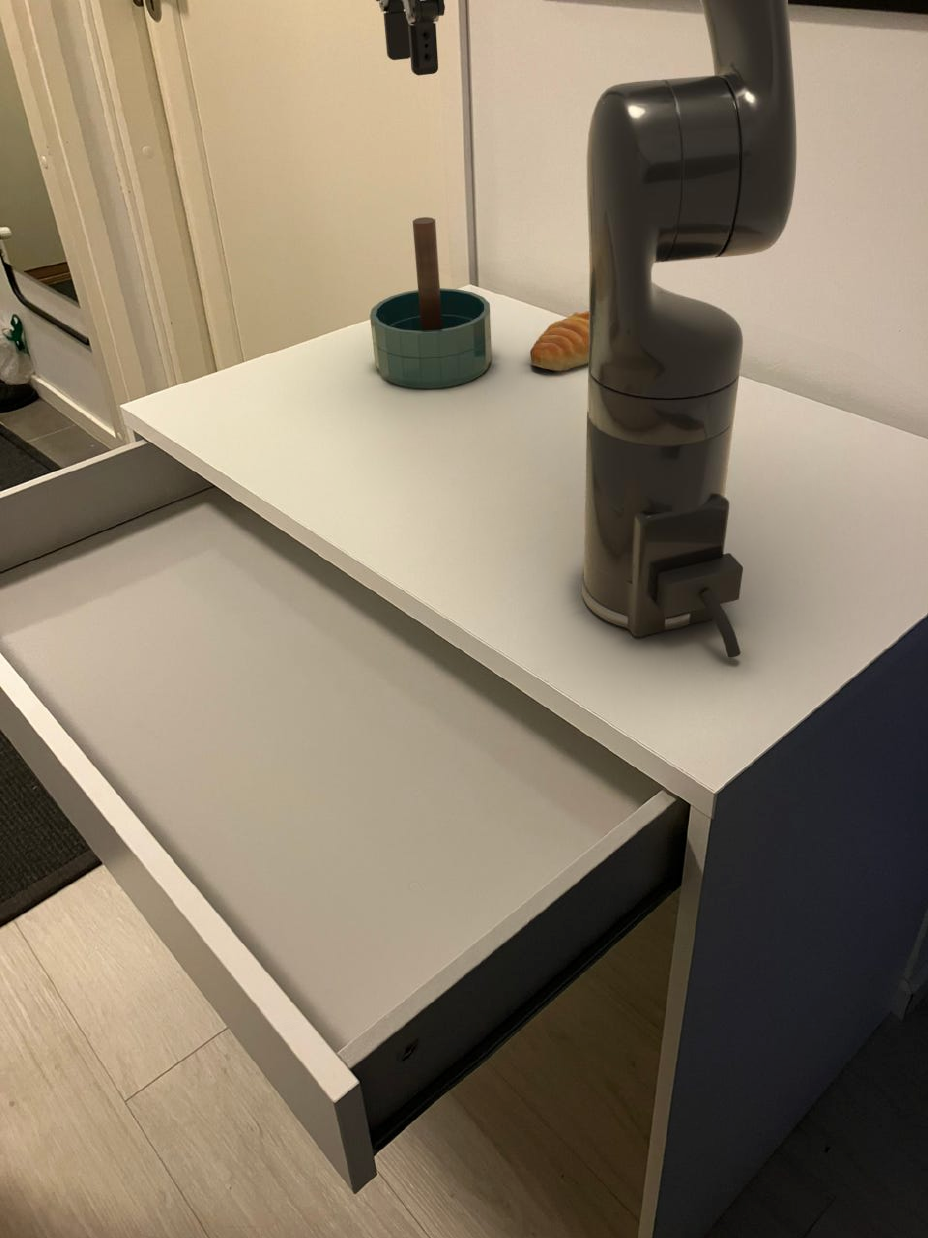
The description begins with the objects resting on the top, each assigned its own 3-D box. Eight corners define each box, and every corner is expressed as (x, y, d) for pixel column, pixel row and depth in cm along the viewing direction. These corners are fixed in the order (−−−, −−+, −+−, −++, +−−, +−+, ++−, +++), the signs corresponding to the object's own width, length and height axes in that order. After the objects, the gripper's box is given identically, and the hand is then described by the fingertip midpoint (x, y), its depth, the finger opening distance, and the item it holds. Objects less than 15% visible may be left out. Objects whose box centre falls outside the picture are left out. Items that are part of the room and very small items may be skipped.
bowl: (508, 377, 104) (506, 320, 100) (392, 398, 101) (386, 340, 98) (471, 334, 113) (468, 281, 109) (365, 353, 110) (358, 299, 107)
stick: (460, 361, 105) (452, 223, 97) (419, 369, 104) (407, 229, 96) (447, 346, 109) (439, 211, 100) (408, 353, 108) (396, 217, 99)
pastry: (565, 381, 102) (565, 345, 100) (513, 366, 106) (512, 331, 104) (618, 350, 108) (619, 315, 105) (566, 337, 111) (566, 302, 109)
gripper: (330, -160, 85) (353, 59, 95) (369, -164, 74) (390, 84, 84) (416, -166, 86) (430, 50, 96) (467, -170, 75) (477, 74, 85)
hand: (412, 65), depth 90 cm, fingers open, 8 cm apart
